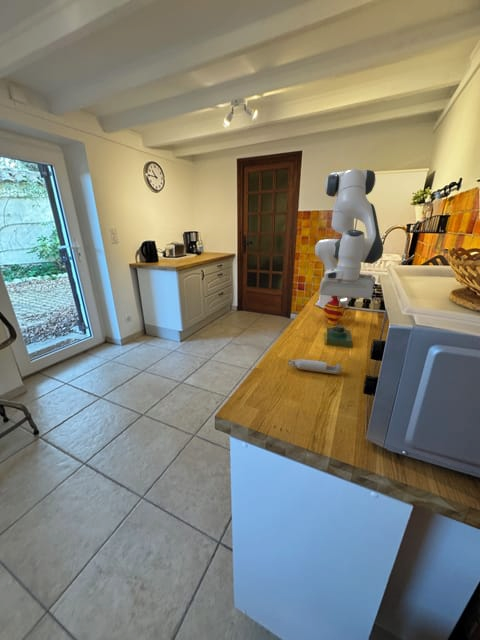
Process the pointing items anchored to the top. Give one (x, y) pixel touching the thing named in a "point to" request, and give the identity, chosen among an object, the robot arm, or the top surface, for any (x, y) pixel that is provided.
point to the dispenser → (338, 338)
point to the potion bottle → (333, 311)
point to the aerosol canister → (315, 366)
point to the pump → (339, 328)
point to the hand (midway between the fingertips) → (342, 306)
